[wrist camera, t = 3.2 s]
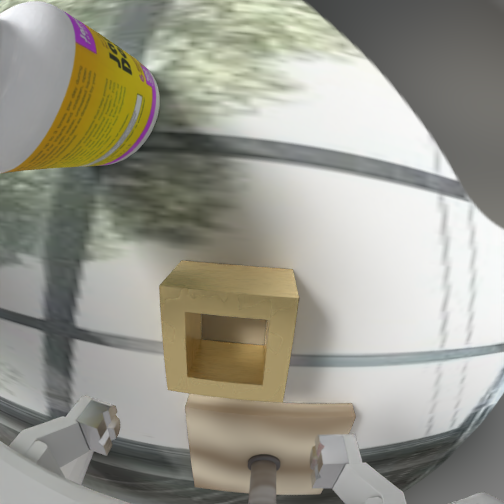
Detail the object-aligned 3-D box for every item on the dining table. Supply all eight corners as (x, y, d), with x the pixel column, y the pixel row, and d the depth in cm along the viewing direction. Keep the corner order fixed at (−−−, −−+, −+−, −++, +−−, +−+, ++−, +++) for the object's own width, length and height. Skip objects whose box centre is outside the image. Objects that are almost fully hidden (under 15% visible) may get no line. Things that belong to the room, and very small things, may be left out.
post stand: (189, 393, 20) (158, 486, 12) (351, 403, 20) (377, 494, 12) (197, 475, 24) (181, 544, 15) (319, 482, 23) (325, 551, 15)
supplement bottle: (186, 89, 15) (34, -26, 3) (123, 186, 17) (-70, 236, 4) (107, 46, 14) (-41, -32, 2) (54, 133, 16) (-114, 136, 3)
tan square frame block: (181, 260, 18) (159, 285, 14) (292, 269, 17) (298, 298, 14) (184, 352, 19) (167, 389, 16) (280, 361, 19) (282, 402, 15)
